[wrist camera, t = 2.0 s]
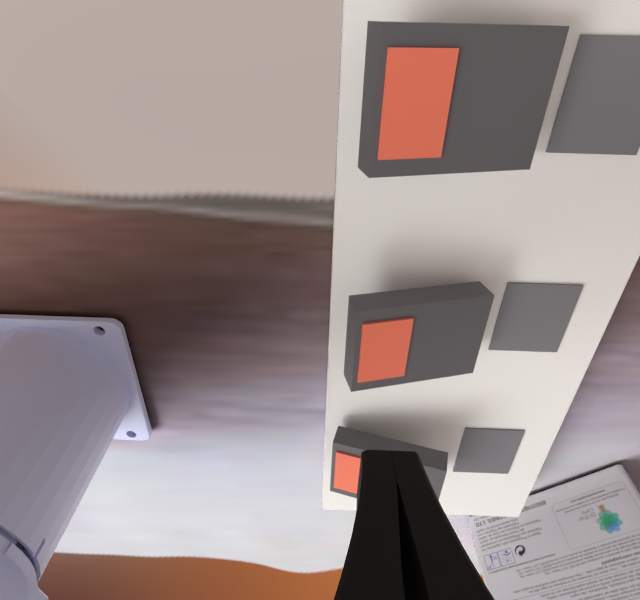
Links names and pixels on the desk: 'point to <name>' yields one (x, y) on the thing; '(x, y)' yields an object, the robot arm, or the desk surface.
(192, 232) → the desk surface
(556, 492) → the ink cartridge box
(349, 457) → the rocker far end
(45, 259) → the desk surface
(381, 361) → the rocker middle
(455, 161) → the block
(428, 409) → the power strip
